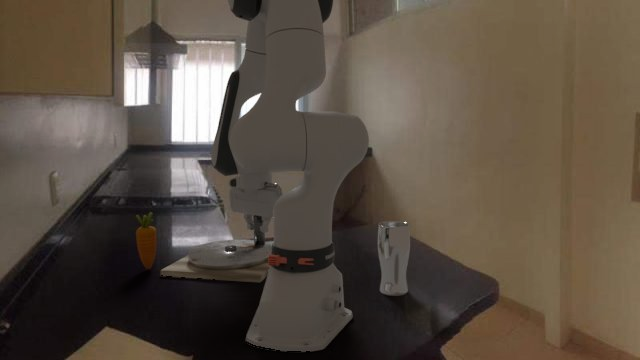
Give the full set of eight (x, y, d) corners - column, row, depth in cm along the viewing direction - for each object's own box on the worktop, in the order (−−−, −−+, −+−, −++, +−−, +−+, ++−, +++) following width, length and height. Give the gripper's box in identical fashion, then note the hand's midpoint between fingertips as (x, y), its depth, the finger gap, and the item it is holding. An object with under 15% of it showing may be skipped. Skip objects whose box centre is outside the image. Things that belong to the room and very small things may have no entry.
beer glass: (409, 297, 99) (410, 228, 97) (376, 295, 100) (376, 227, 99) (410, 286, 106) (410, 221, 104) (378, 284, 107) (378, 220, 105)
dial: (288, 257, 124) (287, 220, 123) (211, 275, 110) (210, 233, 109) (246, 242, 141) (244, 209, 140) (175, 256, 127) (173, 219, 126)
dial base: (260, 282, 110) (260, 275, 110) (160, 276, 116) (160, 269, 116) (291, 252, 135) (291, 246, 135) (208, 248, 141) (208, 243, 141)
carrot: (134, 272, 120) (130, 214, 118) (146, 266, 124) (143, 210, 123) (150, 273, 118) (147, 214, 116) (162, 267, 123) (159, 211, 121)
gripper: (289, 182, 125) (291, 233, 126) (242, 178, 139) (244, 224, 140) (271, 185, 120) (273, 238, 121) (224, 180, 134) (226, 228, 136)
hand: (257, 230), depth 131 cm, fingers open, 4 cm apart
